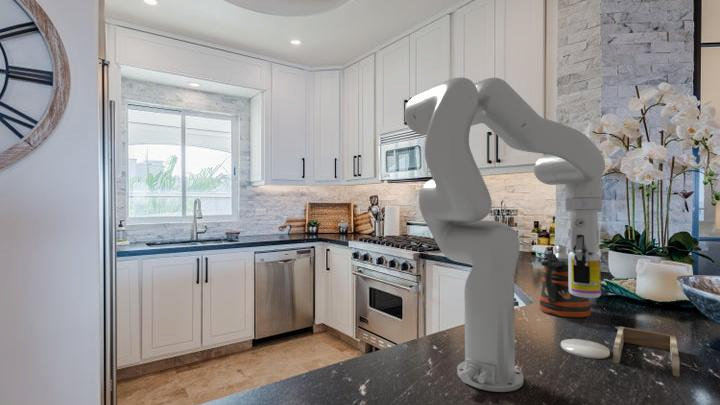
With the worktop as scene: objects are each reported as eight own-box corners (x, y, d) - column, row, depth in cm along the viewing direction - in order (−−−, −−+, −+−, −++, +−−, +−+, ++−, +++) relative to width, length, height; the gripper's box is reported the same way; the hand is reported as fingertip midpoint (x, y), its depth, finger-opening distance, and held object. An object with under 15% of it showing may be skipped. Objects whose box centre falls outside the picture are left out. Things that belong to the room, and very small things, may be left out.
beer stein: (579, 325, 106) (578, 256, 106) (526, 314, 116) (526, 251, 116) (596, 312, 119) (595, 250, 119) (548, 303, 129) (547, 246, 130)
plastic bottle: (572, 300, 133) (571, 245, 133) (571, 304, 127) (570, 247, 127) (552, 298, 136) (551, 244, 137) (550, 302, 131) (549, 246, 131)
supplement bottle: (606, 299, 84) (605, 243, 84) (574, 298, 85) (573, 242, 85) (593, 292, 91) (593, 240, 91) (564, 291, 92) (564, 240, 92)
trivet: (607, 362, 81) (607, 358, 81) (557, 351, 87) (556, 348, 87) (611, 348, 89) (611, 345, 89) (564, 339, 95) (564, 336, 95)
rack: (679, 376, 74) (679, 359, 74) (613, 362, 81) (613, 346, 81) (675, 350, 87) (675, 335, 87) (619, 339, 94) (619, 326, 94)
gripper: (597, 206, 79) (598, 289, 79) (605, 205, 92) (606, 276, 92) (558, 206, 84) (559, 284, 84) (571, 205, 97) (572, 273, 97)
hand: (584, 279), depth 88 cm, fingers closed on supplement bottle, 6 cm apart
